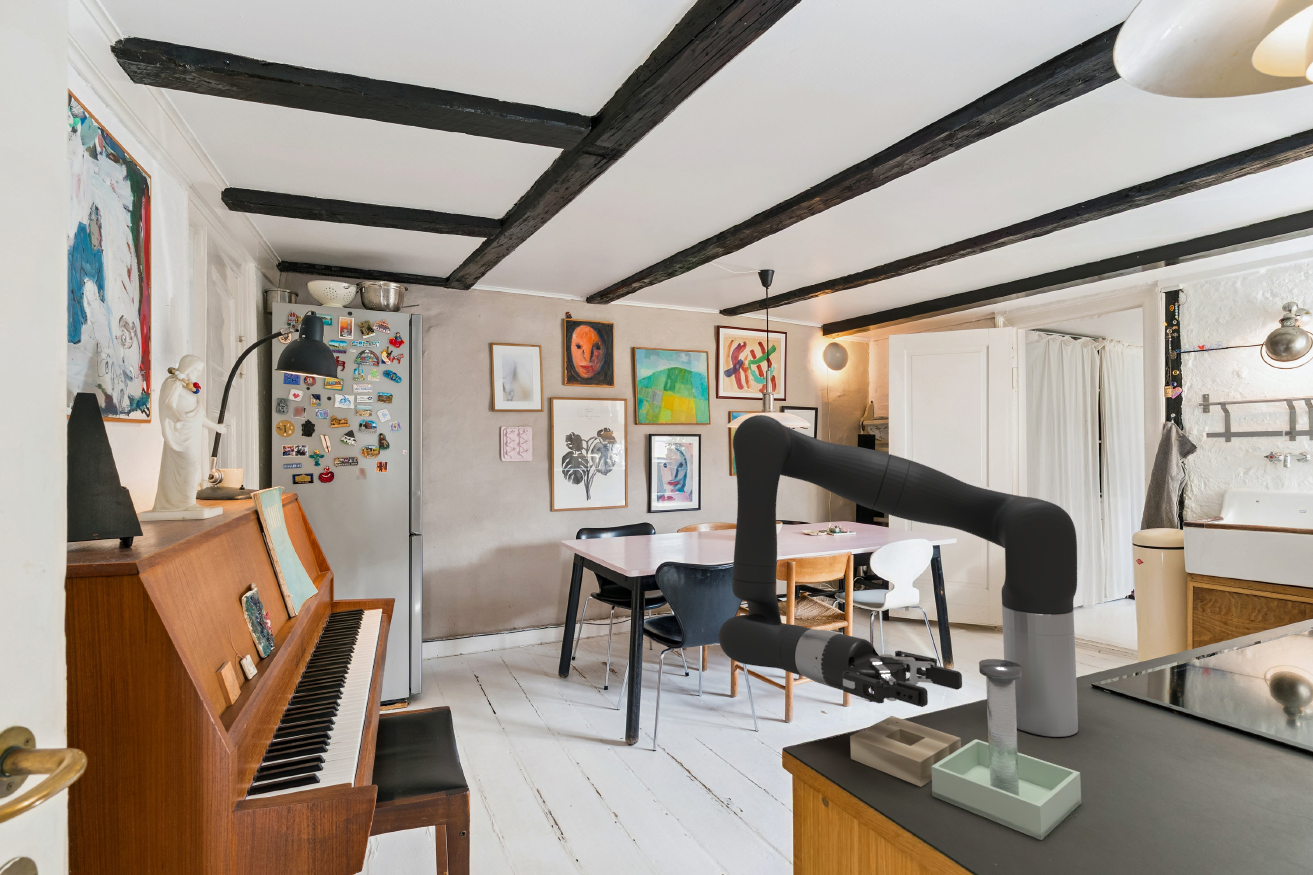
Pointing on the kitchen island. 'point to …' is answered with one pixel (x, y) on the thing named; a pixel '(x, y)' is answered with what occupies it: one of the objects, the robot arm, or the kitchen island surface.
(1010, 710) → the steel pin
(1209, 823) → the kitchen island surface
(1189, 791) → the kitchen island surface
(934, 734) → the socket block
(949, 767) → the green tray
